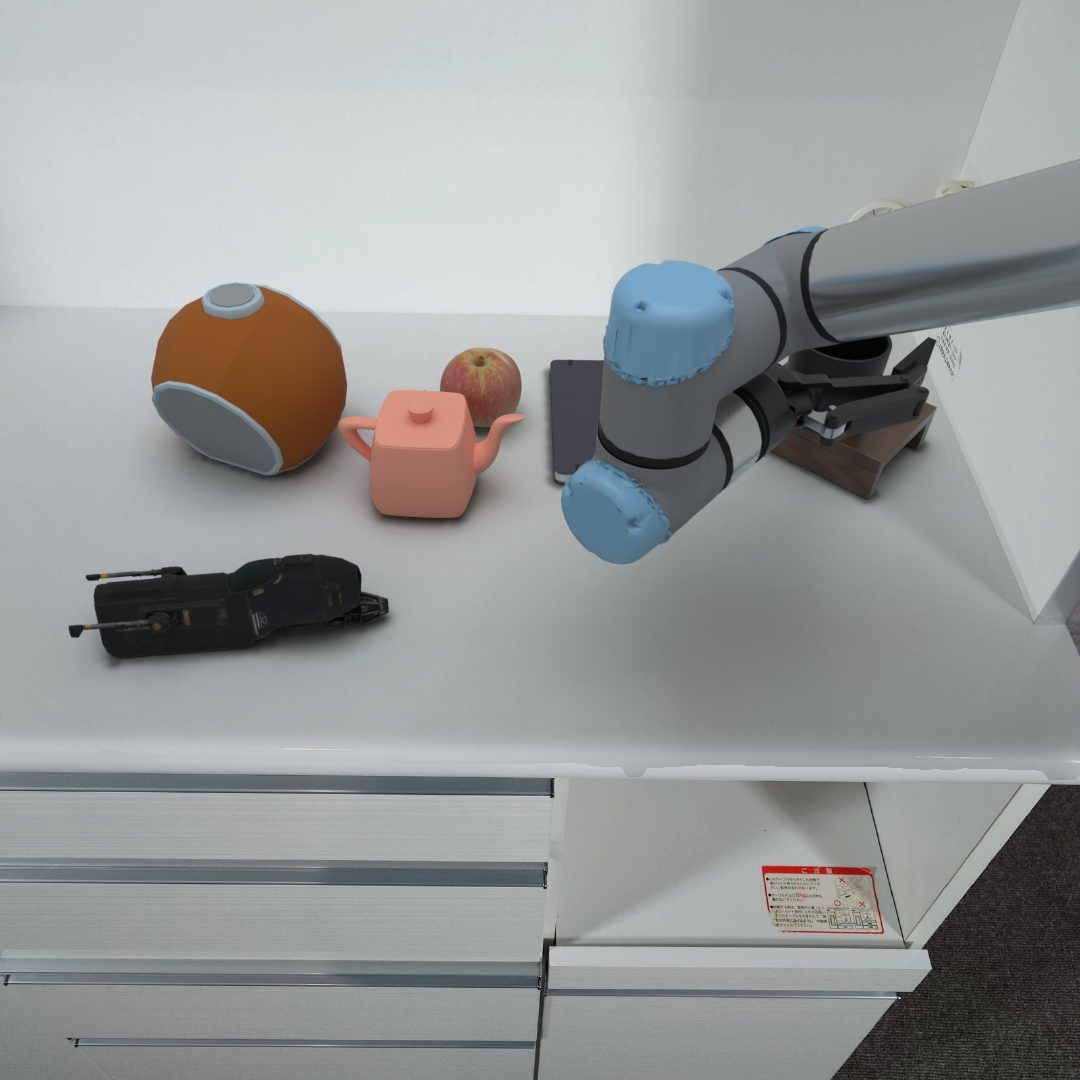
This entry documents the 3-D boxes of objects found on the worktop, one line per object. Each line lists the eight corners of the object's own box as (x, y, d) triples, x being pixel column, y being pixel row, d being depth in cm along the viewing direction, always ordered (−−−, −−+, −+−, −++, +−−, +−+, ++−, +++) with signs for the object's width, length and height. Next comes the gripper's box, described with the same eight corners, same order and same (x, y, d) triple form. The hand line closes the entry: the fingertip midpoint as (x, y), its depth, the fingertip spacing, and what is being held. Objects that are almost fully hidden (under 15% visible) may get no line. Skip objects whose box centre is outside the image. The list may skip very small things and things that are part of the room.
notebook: (676, 486, 96) (654, 371, 111) (678, 474, 95) (656, 360, 110) (554, 485, 95) (549, 370, 111) (554, 473, 94) (549, 358, 110)
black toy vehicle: (107, 611, 82) (75, 546, 76) (390, 588, 84) (378, 522, 78) (89, 672, 77) (53, 607, 72) (389, 646, 79) (377, 581, 73)
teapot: (356, 449, 99) (345, 366, 91) (524, 457, 99) (526, 374, 91) (335, 521, 90) (321, 437, 83) (519, 530, 90) (520, 446, 83)
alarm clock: (383, 417, 103) (368, 274, 91) (296, 513, 91) (265, 363, 79) (239, 377, 108) (206, 236, 96) (139, 463, 96) (87, 315, 84)
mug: (898, 404, 99) (925, 330, 93) (834, 449, 93) (858, 373, 87) (824, 366, 104) (845, 294, 97) (759, 407, 98) (776, 332, 91)
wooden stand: (922, 444, 102) (943, 391, 97) (867, 499, 95) (887, 446, 90) (804, 389, 109) (818, 338, 104) (744, 438, 102) (756, 385, 97)
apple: (519, 443, 100) (519, 381, 95) (437, 439, 100) (433, 377, 95) (523, 397, 106) (524, 336, 101) (446, 393, 107) (443, 333, 101)
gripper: (593, 402, 79) (730, 312, 91) (857, 539, 67) (976, 415, 79) (599, 324, 74) (744, 239, 85) (886, 458, 62) (1009, 338, 74)
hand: (855, 323), depth 82 cm, fingers open, 13 cm apart
